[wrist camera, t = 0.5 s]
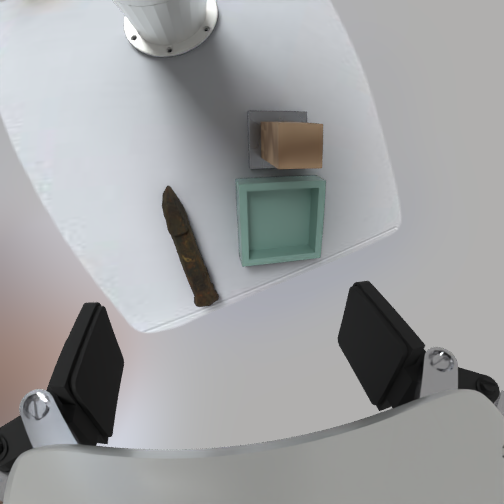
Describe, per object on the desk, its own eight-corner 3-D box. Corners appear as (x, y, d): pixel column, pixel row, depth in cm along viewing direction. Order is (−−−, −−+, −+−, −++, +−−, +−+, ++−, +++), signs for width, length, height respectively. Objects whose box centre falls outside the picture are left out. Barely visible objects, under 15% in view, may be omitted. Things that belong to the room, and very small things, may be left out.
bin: (235, 179, 39) (238, 184, 36) (316, 175, 41) (325, 180, 37) (239, 255, 44) (242, 266, 41) (312, 247, 46) (320, 257, 43)
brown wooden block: (260, 121, 35) (278, 122, 27) (296, 121, 36) (322, 124, 28) (261, 157, 37) (278, 169, 29) (296, 156, 38) (322, 168, 30)
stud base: (247, 111, 35) (252, 110, 31) (304, 111, 36) (314, 111, 32) (249, 167, 38) (254, 172, 35) (303, 165, 40) (314, 170, 36)
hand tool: (218, 290, 47) (220, 307, 43) (194, 296, 47) (195, 313, 42) (187, 179, 38) (185, 187, 34) (159, 186, 38) (155, 195, 34)
